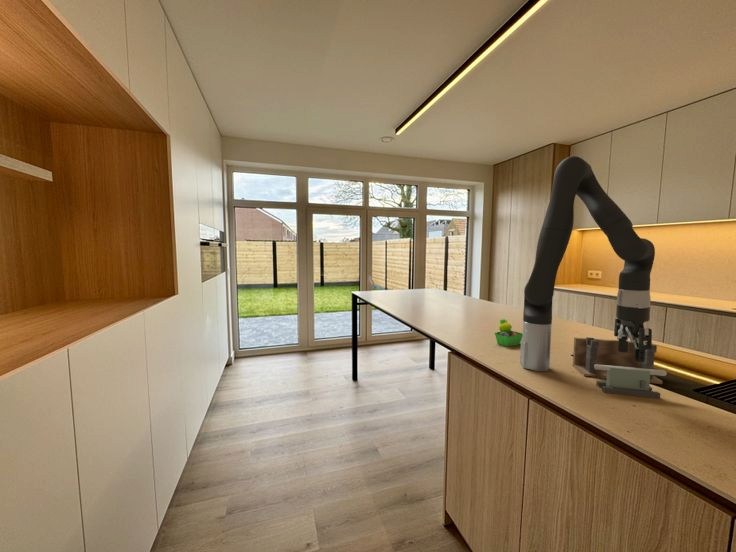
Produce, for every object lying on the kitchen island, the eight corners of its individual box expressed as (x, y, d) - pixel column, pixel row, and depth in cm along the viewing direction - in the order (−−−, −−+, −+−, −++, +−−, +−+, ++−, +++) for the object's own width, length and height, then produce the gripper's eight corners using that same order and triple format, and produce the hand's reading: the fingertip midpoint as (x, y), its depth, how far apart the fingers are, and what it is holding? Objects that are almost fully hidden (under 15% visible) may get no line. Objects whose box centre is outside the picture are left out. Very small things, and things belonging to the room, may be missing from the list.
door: (596, 390, 91) (598, 366, 90) (592, 386, 94) (594, 363, 93) (668, 398, 86) (670, 373, 85) (662, 394, 89) (664, 369, 88)
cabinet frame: (583, 376, 101) (585, 340, 100) (572, 365, 111) (574, 333, 110) (662, 384, 95) (665, 346, 94) (643, 372, 105) (646, 337, 104)
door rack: (603, 392, 90) (604, 387, 90) (596, 385, 95) (596, 380, 95) (660, 398, 86) (660, 393, 86) (649, 390, 91) (649, 386, 91)
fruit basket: (506, 348, 132) (507, 323, 131) (491, 342, 140) (491, 319, 139) (524, 344, 136) (525, 320, 135) (508, 339, 144) (509, 317, 144)
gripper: (606, 300, 96) (604, 348, 97) (632, 308, 83) (629, 364, 84) (633, 300, 94) (631, 350, 95) (665, 309, 80) (661, 366, 82)
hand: (630, 356), depth 89 cm, fingers open, 8 cm apart
